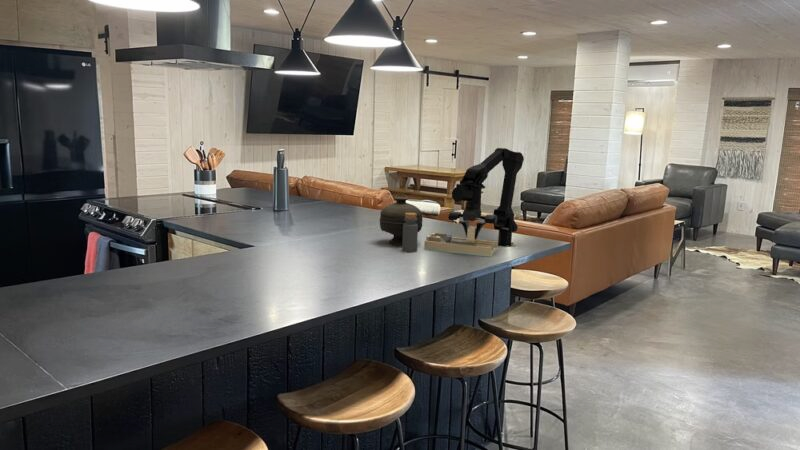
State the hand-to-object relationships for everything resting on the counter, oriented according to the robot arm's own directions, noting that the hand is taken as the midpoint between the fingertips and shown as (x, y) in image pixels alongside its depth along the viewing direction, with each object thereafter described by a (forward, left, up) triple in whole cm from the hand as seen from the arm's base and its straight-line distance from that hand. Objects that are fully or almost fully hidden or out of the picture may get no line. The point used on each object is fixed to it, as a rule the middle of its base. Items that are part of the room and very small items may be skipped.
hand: (471, 238), depth 233 cm
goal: (0, -15, -4) cm, 15 cm away
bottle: (+12, -22, -5) cm, 26 cm away
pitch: (0, -4, -5) cm, 6 cm away
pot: (+1, -30, -5) cm, 31 cm away
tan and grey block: (0, -4, -4) cm, 6 cm away
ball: (0, -14, -2) cm, 14 cm away
